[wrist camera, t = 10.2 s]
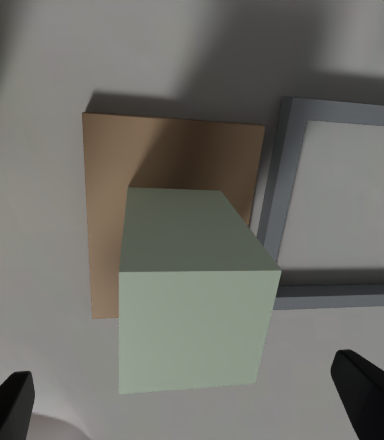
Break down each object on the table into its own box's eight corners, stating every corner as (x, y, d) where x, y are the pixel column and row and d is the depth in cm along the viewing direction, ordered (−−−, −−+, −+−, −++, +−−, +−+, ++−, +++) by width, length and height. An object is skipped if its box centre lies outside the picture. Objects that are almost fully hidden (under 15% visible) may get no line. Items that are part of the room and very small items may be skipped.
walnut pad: (260, 124, 17) (265, 126, 16) (230, 305, 21) (233, 313, 21) (84, 111, 15) (81, 113, 14) (94, 310, 20) (92, 318, 19)
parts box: (220, 190, 17) (281, 270, 10) (210, 271, 19) (254, 386, 12) (127, 187, 16) (118, 272, 9) (126, 272, 18) (118, 397, 11)
